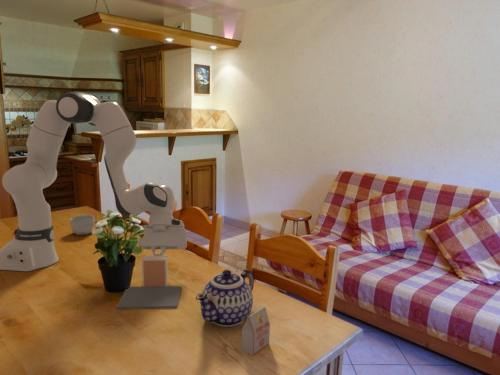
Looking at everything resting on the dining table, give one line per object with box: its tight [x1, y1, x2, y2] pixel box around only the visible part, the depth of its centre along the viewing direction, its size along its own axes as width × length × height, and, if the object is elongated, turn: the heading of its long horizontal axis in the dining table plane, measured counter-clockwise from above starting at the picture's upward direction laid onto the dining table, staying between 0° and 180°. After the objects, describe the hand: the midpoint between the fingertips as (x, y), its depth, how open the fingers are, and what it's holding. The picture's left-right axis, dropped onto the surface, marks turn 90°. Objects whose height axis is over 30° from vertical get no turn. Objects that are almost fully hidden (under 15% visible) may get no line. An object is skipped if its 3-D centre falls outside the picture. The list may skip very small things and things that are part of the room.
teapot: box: [195, 268, 255, 328], centre depth 114 cm, size 25×15×15 cm, turn 141°
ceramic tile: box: [141, 255, 169, 287], centre depth 135 cm, size 8×3×10 cm, turn 95°
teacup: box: [69, 213, 96, 236], centre depth 191 cm, size 14×11×8 cm
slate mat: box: [116, 285, 182, 310], centre depth 127 cm, size 18×14×1 cm
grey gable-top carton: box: [241, 306, 271, 357], centre depth 101 cm, size 4×7×10 cm, turn 140°
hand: (157, 259), depth 140 cm, fingers closed
